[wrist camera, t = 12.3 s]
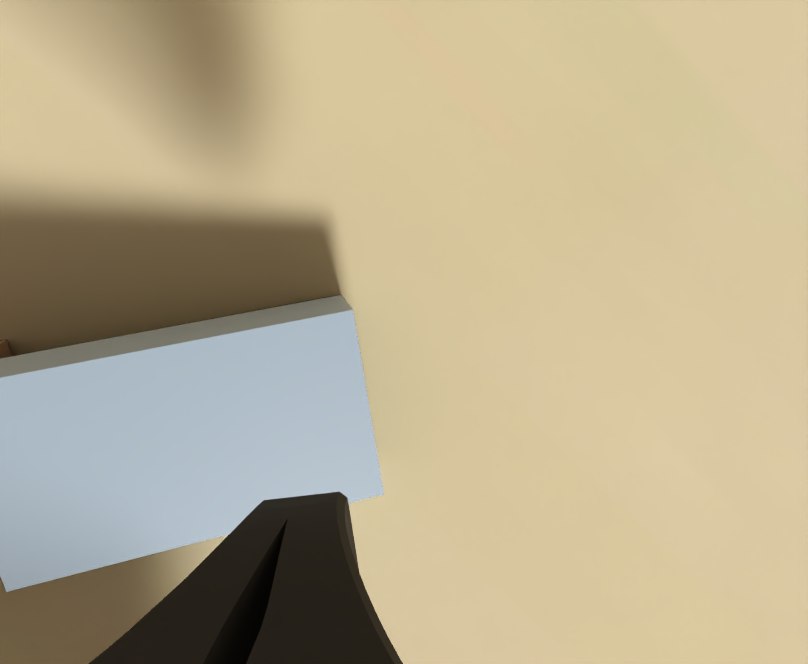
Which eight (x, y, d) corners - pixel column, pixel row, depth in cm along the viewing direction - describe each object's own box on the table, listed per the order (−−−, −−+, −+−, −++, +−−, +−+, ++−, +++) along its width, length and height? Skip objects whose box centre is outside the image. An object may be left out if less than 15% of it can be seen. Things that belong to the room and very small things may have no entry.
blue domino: (384, 494, 15) (6, 592, 13) (369, 460, 17) (36, 542, 15) (352, 309, 14) (-73, 391, 12) (341, 294, 16) (-28, 364, 14)
